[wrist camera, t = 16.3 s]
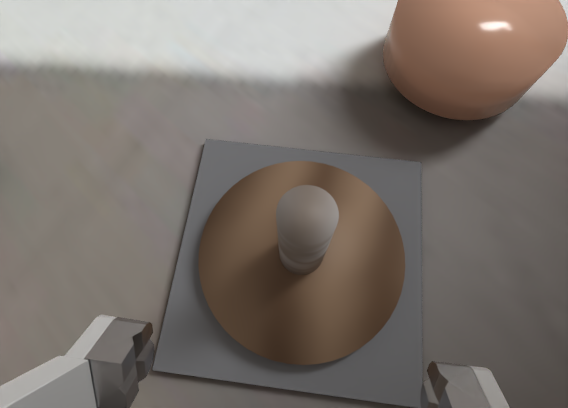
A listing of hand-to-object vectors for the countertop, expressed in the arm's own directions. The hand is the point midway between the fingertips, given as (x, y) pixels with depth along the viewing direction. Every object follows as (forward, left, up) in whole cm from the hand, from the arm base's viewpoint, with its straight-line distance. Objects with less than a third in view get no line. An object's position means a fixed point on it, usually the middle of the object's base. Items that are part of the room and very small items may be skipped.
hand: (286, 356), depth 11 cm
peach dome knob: (-11, -24, -14) cm, 30 cm away
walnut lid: (0, -6, -14) cm, 15 cm away
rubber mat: (0, -6, -14) cm, 16 cm away
